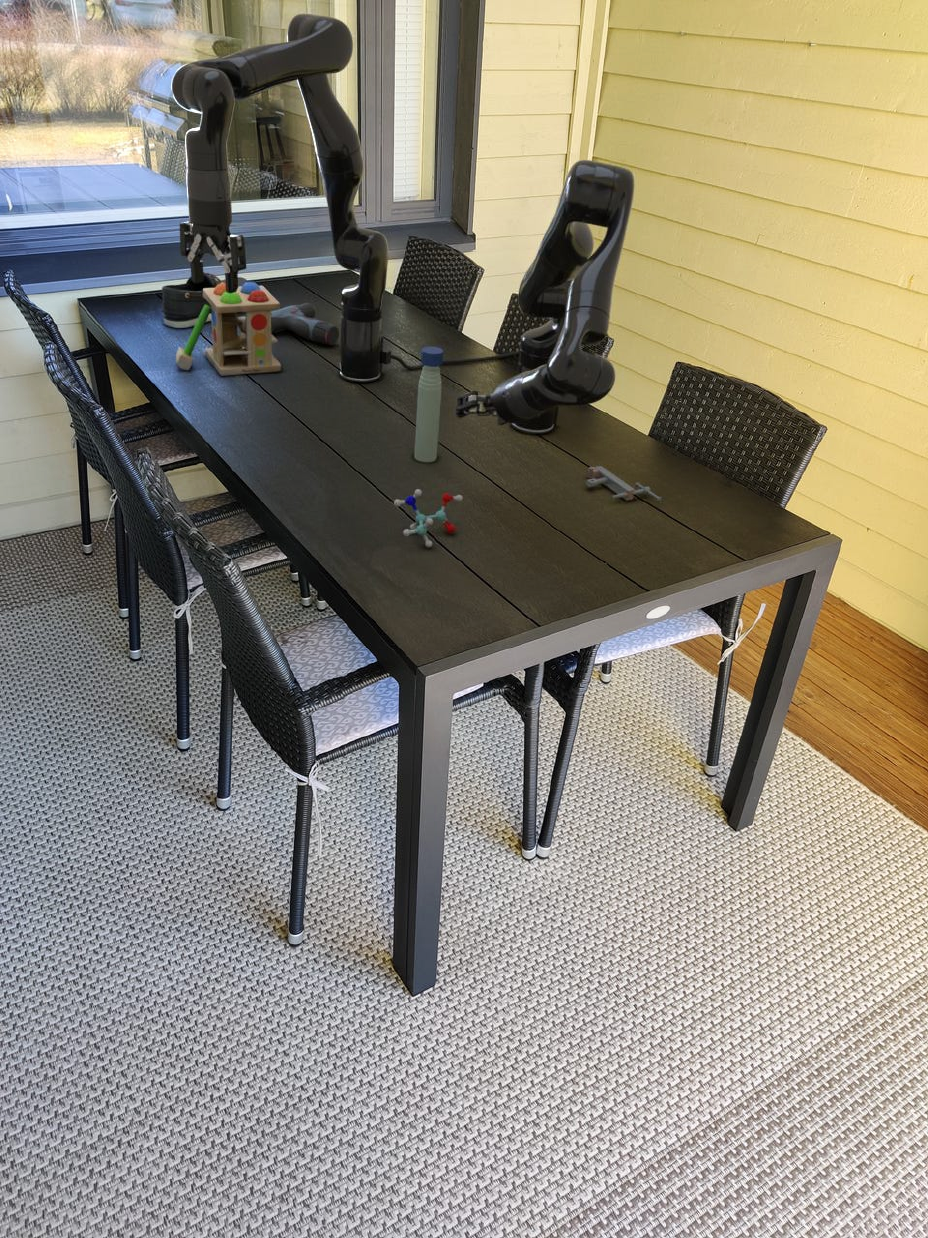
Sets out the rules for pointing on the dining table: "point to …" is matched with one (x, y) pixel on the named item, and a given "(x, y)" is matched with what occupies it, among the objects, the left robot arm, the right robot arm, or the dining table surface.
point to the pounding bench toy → (229, 347)
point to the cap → (432, 356)
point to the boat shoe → (188, 300)
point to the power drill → (304, 324)
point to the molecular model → (428, 519)
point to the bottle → (428, 414)
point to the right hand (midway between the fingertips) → (478, 415)
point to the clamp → (598, 478)
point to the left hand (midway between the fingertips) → (214, 287)
